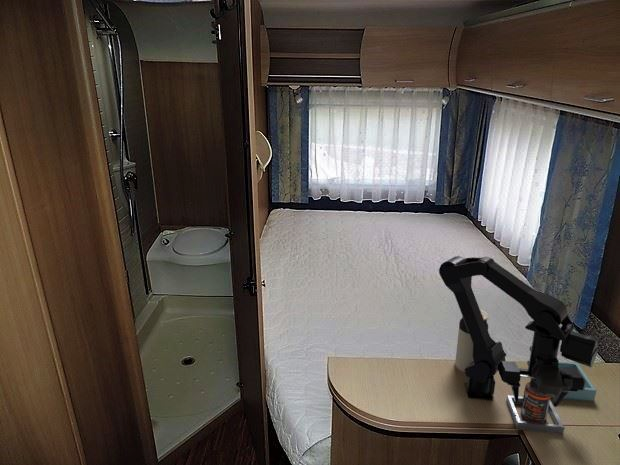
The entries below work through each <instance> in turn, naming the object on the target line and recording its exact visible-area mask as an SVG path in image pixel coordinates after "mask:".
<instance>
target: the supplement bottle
mask: <svg viewBox="0 0 620 465" xmlns="http://www.w3.org/2000/svg"><path fill="white" fill-rule="evenodd" d="M522 397H523V402H522V404H521V408H520V415H521V416H522V418H523V419H524V420H525V421H529V422H538V423H545V422H546V421H547V418H548V413H549V411H548V408H549V403H550V401H551V399H552V398H551V394H542V393H540V392H539V390H538V386H537V382H536V379H535V378H530V381H528V382H526V383H525V386H524V392H523V396H522Z"/></svg>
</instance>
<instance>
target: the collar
mask: <svg viewBox="0 0 620 465" xmlns="http://www.w3.org/2000/svg"><path fill="white" fill-rule="evenodd" d="M505 401H506V403H507V406H508V410H509V412H510V414H511V417H512V420H513V423H514V426H515V428H516V430H522V431H529V432H538V433H547V434H554V435H555V434H557V435H564V433H565V426H564V424H563V421H562V420H561V418H560V417H559V415H558V412H557V410H556V409H555V407H554V405H553V402H552V401H551V400H550V403H549V408H548V413H549V415H550V417H551V419H552V421H553V423H545V422H544V423H538V422H529V421H527V420H521V418H520V416H519V414H518V410H517V408H516V406H515V404H516V405H517V404H518V405H522V402H523V396H522V395H521V396H520V395H518V402H517V403H516V402H515V400H514V396H513V395H509V394H507V395H506V400H505Z"/></svg>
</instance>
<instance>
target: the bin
mask: <svg viewBox="0 0 620 465" xmlns="http://www.w3.org/2000/svg"><path fill="white" fill-rule="evenodd" d="M558 363H559V365H558V367H559V370H560V367H573V368H577V369H578V370H579V372H580V373H581V375H582V376H583V378H584V379H585V383H586V384H585V389H584V390H578V391H577V392H569V393H568V394H567V395H566V396H565V397H564V398H563V399H562V400H571V401H573V400H574V401H580V402H581V401H583V402H593V403H594V402H595V399H596V394H597V389H596V388H595V387H594V384H592V382H591V380H590V379H589V377H588V376H587V375H586V374H585V372H584V371H583V369H582V367H581V366H580V365H579V363H577V362H574V361H560V360H559V362H558ZM553 398H554V394H551V398H550V399H553Z"/></svg>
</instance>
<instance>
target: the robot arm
mask: <svg viewBox="0 0 620 465" xmlns="http://www.w3.org/2000/svg"><path fill="white" fill-rule="evenodd" d="M438 273H439V276H440V277H441V278H440V279H441V280H442V282H443V283H444V285H445V287H447V288H448V290H450V291H451V292H452V293H453V295H454V297H455V301H456V302H457V305H458V308H459V310H460V313H461V317H462V316H463V319H464V321H465V324H466V326H467V329H468V332H469V334H470V337H471V340H472V342H473V354H472V356H473V362H472V363H470V364H469V365H468V366H467V367H466V368H465V373H464V374H465V376H466V381H465V383H464V387H465V391H466V392H465V393H466V395H467V398H469V399H475V400H485V401H493V400H494V397H493V395H494V393H495V387H496V380H495V377H494V376H495V374H497V373H498V374H499V376H500V379H501V381H502V382H504V383H506V384H507V385H508V386H510V387H511V391H512V396H514V400H515V402H516V403H517V402H518V396H519V392H520V391H519V390H520V387H521V383H520V382H521V378H526V379H527V378H528V379H531V378H535V379H536V382H537V386H538V390H539V392H540V393H542V394H554V398H552V405H553V407H554V408H556V407H558V405H559V404H560V403H561V401H562V400H564V399H563V398H564V397H565V396H566V395H567V394H568V393H569V392H577V391H578V390H584V389H585V384H586V383H585V379H584V378H583V376H582V375H581V373H580V372H579V370H578V369H577V368H573V367H560V370H559V367H558V365H559V363H558V362H559V361H560V360H559V359H558V353H559V352H560V353H561V354H560V355H561V357H563V358H564V359H566V360H569V361H571V362H574V363H578V364H581V365H582V366H586V367H589V368H593V366H594V363H595V362H596V361H595V360H596V357H597V355H598V350H599V348H598V340H599V339H598V337H595V336H593V335H588V334H587V335H586V334H584V333H580V332H577V331H574V329H575V328H576V327H575V325H574V323H573V320H571V318H570V316H569V314H568V308H567V305H566V304H565V303H564V302H563V301H562V300H561V299H558V298H557V297H554V296H552V295H550V294H549V293H546V292H542V291H539V290H536V289H534V288H533V287H531V286H530V285H528V284H527V283H525V282H524V281H522V280H521V279H520V278H518V276H515V275H514V274H513V273H512V272H510V271H509V270H507V269H506V268H504V267H503V266H501V265H500V264H498V263H497V262H496V261H495V260H494V258H492V257H490V256H484V257H463V256H460V255H457V256H456V255H455V256H454V257H452V258H450V259H447V260H446V261H444V262H442V263H441V264H440V266H439V268H438ZM477 276H482V277H483V278H485V279H486V280H487V281H488V282H490V283H492V284H493V285H494V286H496V288H498V289H500V290H501V291H503V292H504V293H505V294H506V295H507V296H508V297H510V298H512V299H513V300H514V301H516V302H518V304H520V305H521V306H522V307H523V308H524V310H525V311H526V313H527V315H528V316H529V318H530V319H532V321H529V322H528V323H527V324H526V325H525V326H524V328H525V329H526V330H528V331H531V332H533V335H532V336H533V337H532V343H531V346H529V349H528V350H529V351H530V352H529V353H530V354H529V359H528V360H527V363H526V365H527V368H522V367H518V365H517V363H516V361H507V360H506V356H507V353H506V352H505V350H504V348H503V344H502V342H501V341H498V342H496V341H495V340H494V339H493V338H492V337H491V335H490V333H489V329H488V330H487V327H486V324H485V322H484V319H483V317H482V314H481V311H480V310H481V308H480V307H479V304H478V301H477V298H476V296H475V294H474V291H473V288H472V279H473V277H477ZM560 325H562V326H560Z"/></svg>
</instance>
